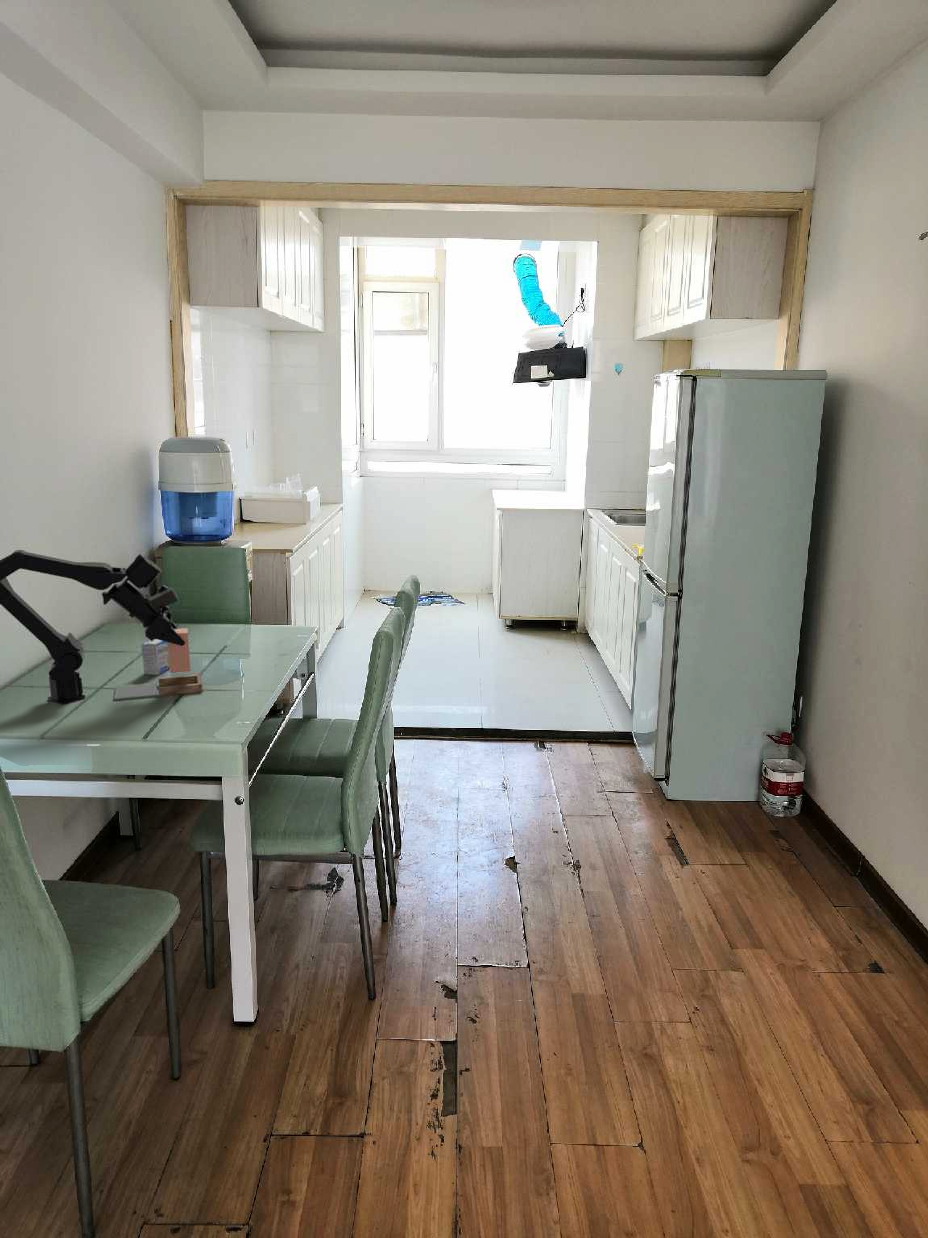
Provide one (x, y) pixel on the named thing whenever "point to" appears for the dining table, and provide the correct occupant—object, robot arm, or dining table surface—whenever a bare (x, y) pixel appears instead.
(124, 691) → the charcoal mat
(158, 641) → the medicine box
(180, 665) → the salmon orange rectangular block
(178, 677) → the frame
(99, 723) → the dining table surface
